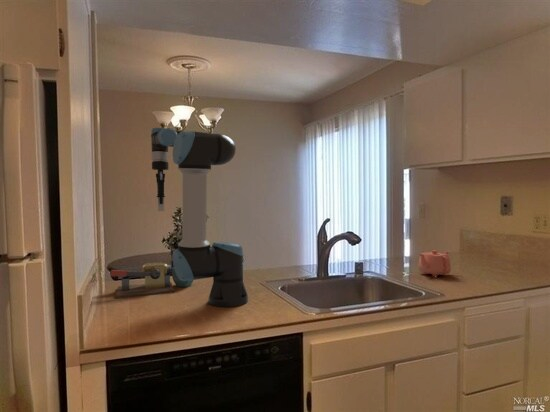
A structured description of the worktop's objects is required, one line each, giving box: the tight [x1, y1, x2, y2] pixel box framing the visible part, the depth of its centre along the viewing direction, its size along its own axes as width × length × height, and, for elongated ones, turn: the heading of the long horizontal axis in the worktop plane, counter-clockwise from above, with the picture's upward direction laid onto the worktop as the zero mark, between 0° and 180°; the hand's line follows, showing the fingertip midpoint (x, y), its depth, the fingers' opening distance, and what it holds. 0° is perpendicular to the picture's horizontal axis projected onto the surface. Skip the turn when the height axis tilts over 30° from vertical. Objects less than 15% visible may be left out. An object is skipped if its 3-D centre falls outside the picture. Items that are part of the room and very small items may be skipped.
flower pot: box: [171, 266, 194, 288], centre depth 167 cm, size 9×9×9 cm
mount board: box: [115, 281, 175, 299], centre depth 159 cm, size 16×23×1 cm
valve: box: [117, 261, 172, 291], centre depth 160 cm, size 9×22×10 cm, turn 111°
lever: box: [110, 269, 160, 279], centre depth 153 cm, size 2×20×4 cm, turn 111°
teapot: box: [418, 249, 452, 277], centre depth 185 cm, size 15×17×13 cm
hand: (161, 210), depth 172 cm, fingers closed
